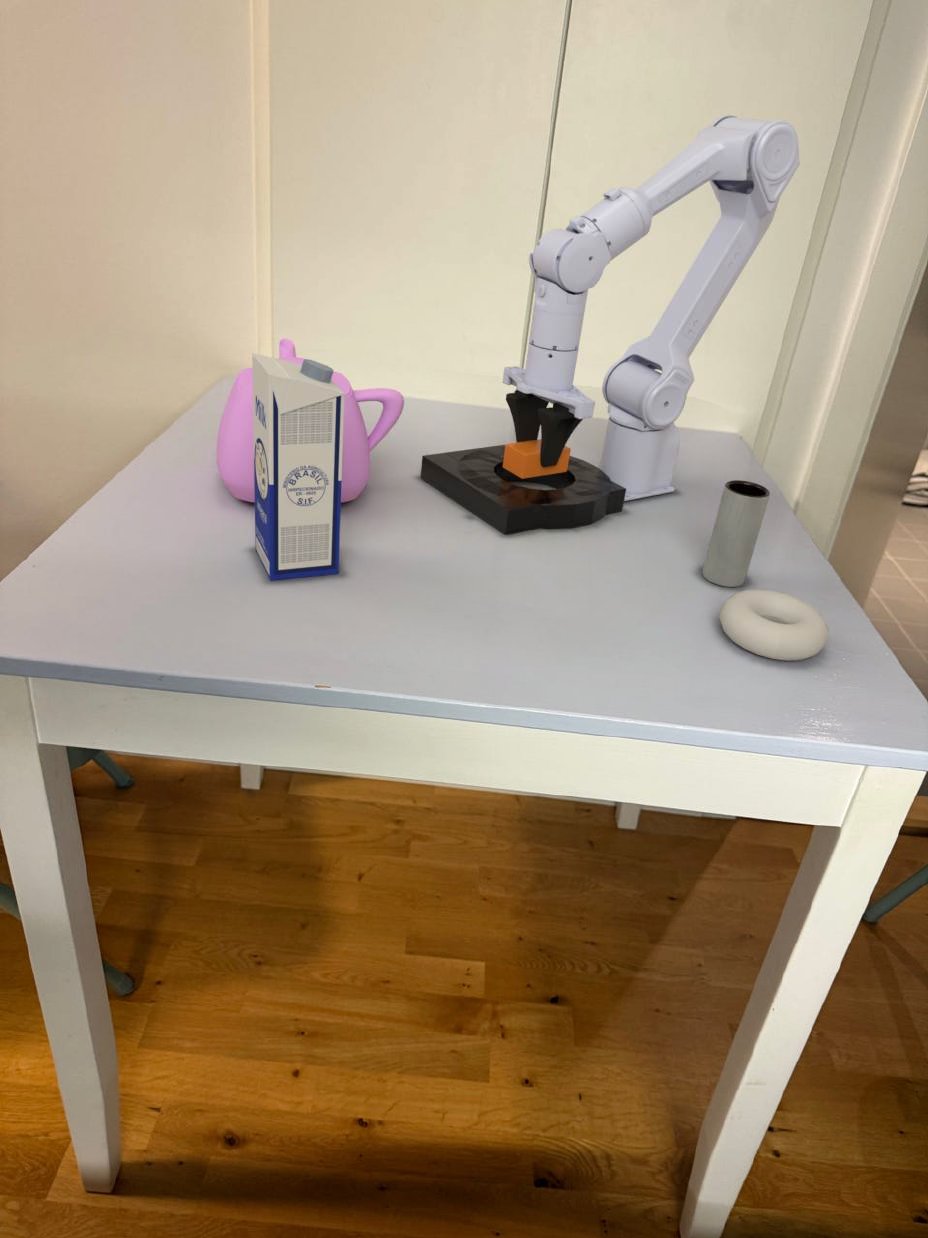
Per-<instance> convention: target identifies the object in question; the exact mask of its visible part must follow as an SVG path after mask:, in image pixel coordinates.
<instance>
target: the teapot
mask: <svg viewBox="0 0 928 1238" xmlns="http://www.w3.org/2000/svg"><path fill="white" fill-rule="evenodd" d="M278 343H279V344H278V349H279V350H278V351H279V352H278V353H279V354H278V358H279V359H282V360H285V361H289V362H292V363H295V364H299V365H302V364H303V361H304V359H305V358H303V357H297V351H296V346H295V343H294V342H293V340H291V339H289V338H282V339H280V340H279V342H278ZM331 380H332V381H333V382H334V383H335V384H336V385H337V386H338V387H339V388H340V389H341V390H342V391H343V392H344V393H345V398H344V427H343V455H342V484H341V504H342V503H346V502H351V501H353V500H355V499H357V498H358V497H359V495H360V494H361V493H362V491H363V490H364V488H365V487H366V486H367V483H368V482H369V478H370V474H371V454H370V453H372V451H373V450H374V449H375V448H376V447H377V445H379V444H380V443H381V442H382V440H383V439H384V438H385V437H386V436H387V435H388V434H389V432H390V431H391V430H392V428H394V426H395V425H396V424H397V422H398V421H399V419H400V417H401V415H402V412H403V410H404V405H405V398H404V396H403V394H402V393H401V392H400V391H398V390H396V389H393V388H385V387H384V388H383V387H379V388H375V387H374V388H365V389H356V390H353V387H352V384H351V383H350V380H349V379H348V378H347V377H346V376H345V375H344V374H343V373H341V372H338V371H333V374H332V377H331ZM363 402H378V403H381V404H382V411H381V414H380V416H379V418H378V421H377V423H376V424H375V426H374V428H373V429H372V431H371V432H370V434H369V435H368V431H367V427H366V423H365V420H364V417H363V413H362V411H361V410H362V409H361V407H360V404H359V403H363ZM216 466H217V470H218V473H219V476H220V478H221V480H222V482H223V483H224V486H225V487H226V489H227V490H228V491H229V493H230V494H231V496H233V497H234V498H236V499H238V500H241V501H245V502H249V503H254V504H255V489H254V428H253V367H247V368H243V369H241V370H240V371H239V372H238V373H237V375H236V378H235V380H234V382H233V385H232V387H231V390H230V392H229V396H228V398H227V400H226V402H225V405H224V407H223V411H222V414H221V418H220V423H219V428H218V434H217V439H216Z"/></svg>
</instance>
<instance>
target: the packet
mask: <svg viewBox="0 0 928 1238" xmlns="http://www.w3.org/2000/svg"><path fill="white" fill-rule="evenodd" d="M505 444H506V445H505ZM505 444H504V445H505V453H504V460H503V468H505V469H506V470H508V471H510V472H511V473H513V474H515V475H517V476H518V477H520V478H522V479H525V478H531V477H537V476H543V475H549V474H556V473H562V472H567V468H568V462H569V456H571V451H572V448H570V447H568V446H567V445H565V447H564V449H563V451H562V453H561V456H560V458H559V460H558V463H557V465H555V466H549V467H543V466H541V463H540V450H541V439H537V440H532V441H525V442H517V443H516V442H510V443H505Z"/></svg>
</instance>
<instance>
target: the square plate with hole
mask: <svg viewBox="0 0 928 1238" xmlns="http://www.w3.org/2000/svg"><path fill="white" fill-rule="evenodd" d="M506 444H507V443H504V444H499V445H491V446H484V447H475V448H469V449H468V448H467V449H462V450H453V451H446V452H440V453H432V454H424V455H422V456H421V468H420V479H421V480H423V481H424V482H426V483H427V484H429V485H430V486H432V487H433V488H435V489H436V490H437V491H439V492H441V493H442V494H444V495H445V496H447V497H448V498H449V499H451V500H452V501H454V502H456V504H459V505H460V506H461V507H463V508H464V509H466V510H467V511H469V512H471V514H473V515H475V516H477V517H478V518H479V519H481V520H482V521H483V522H485V523H487V524H488V525H490V526H491V527H492V528H494V529H496V530H497V531H499V532H500V533H502V534H503V535H506V536H507V535H512V534H517V533H522V532H527V531H531V530H536V529H543V530H557V529H574V528H580V527H583V526H588V525H593V524H594V523H596V522H598V521H600V520H602V519H603V518H604V517H605V515H610V514H615V513H620V512H622V511H623V509H624V508H623V507H624V503H625V501H624V498H625V493H626V488H624V487H622V486H620V485H618V484H616V483H614V482H613V481H611V480H610V478H609V477H608V476H607V475H606V474H605V473H604V472H603V471H602V470H601V469H600V467H598V466H596V465H594V464H592V463H590V462H588V461H586V460H584V459H581V458H578V457H575V456H572V455H570V456H569V462H568V468H567V472H562V473H556V474H549V475H543V476H537V477H531V478H525V479H522V478H520V477H518V476H517V475H515V474H513V473H511V472H510V471H508V470H506V469H505V468H503V460H504V453H505V445H506ZM511 482H529V483H530V482H532V483H537V484H542V485H547V486H549V487H552V488H555V489H538V488H530V487H526V486H520V485H517V484H514V483H511Z"/></svg>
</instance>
